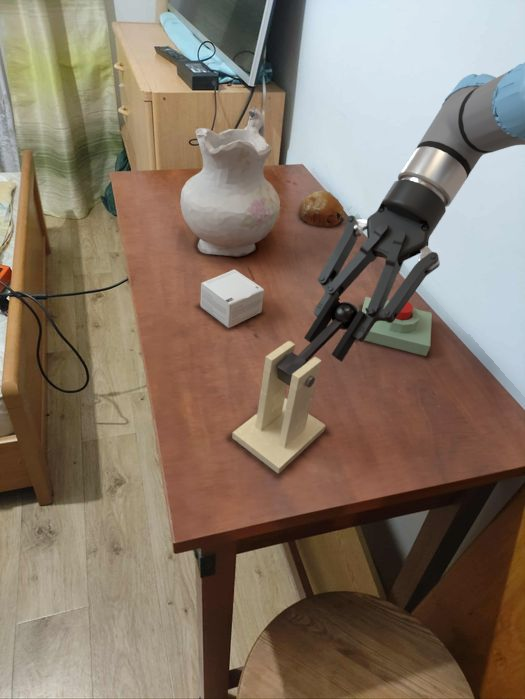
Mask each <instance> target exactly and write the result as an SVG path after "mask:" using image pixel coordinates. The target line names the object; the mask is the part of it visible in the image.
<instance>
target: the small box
mask: <svg viewBox="0 0 525 699" xmlns="http://www.w3.org/2000/svg"><path fill="white" fill-rule="evenodd" d="M264 295H265V289H264V288H263V287H261V286H260V285H259V284H258V283H256V282H254V281H253V280H252V279H250V278H248V277H247V276H245V275H244V274H242V273H241V272H239V271H238V270H236V269H232V270H229V271H227V272H224V273H223V274H220V275H217V276H215V277H213V278H210V279H208V280H205V281H203V282H201V283H200V308H201V309H203V310H204V311H205V312H207V313H208V314H209V315H211V316H212V317H213V318H214V319H216V320H217V321H219V322H220V323H221V324H222V325H224V326H225V327H226V328H228V329H230V328H232V327H234V326H236V325H239V324H240V323H242V322H245V321H247V320H248V319H251V318H252V317H254V316H257V315H258V314H261V313H262V311H263V304H264V303H263V302H264Z"/></svg>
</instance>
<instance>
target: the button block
mask: <svg viewBox="0 0 525 699" xmlns="http://www.w3.org/2000/svg"><path fill="white" fill-rule="evenodd" d="M371 298H372V297H368V296H365V297H364V301H363V303H362V304H363V305H362V307H361V311H362V312H364V313H365V314H366V310H365V308H368V306H369V303H370V301H371ZM390 300H391V299H389V300H388V299H387V301H386V303H385V305H384V308H385V307H386V305H387V304H388V302H389V301H390ZM384 308H383V309H384ZM432 315H433V313H432V312H429V311H425V310H421V309H418V308H416V307H415V306H413V311H412V314H411V316H410V318H409V319H408V320H398V319H395V320H394V321H393V322H392V323H388V322H386V321H377V322H375V324H374V325H373V327H372V328H371V330H370V331H369V333H368V335H367V336H366V338H365V339H364V340H363V341H365V342H369V343H374V344H377V345H380V346H384V347H385V346H386V347H388V348H393V349H397V350H400V351H404V352H408V353H412V354H416V355H420V356H424V357H427V356H428V354H429V352H430V349H431V340H432V321H433V320H432V319H433V318H432V317H433V316H432Z"/></svg>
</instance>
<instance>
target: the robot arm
mask: <svg viewBox="0 0 525 699" xmlns="http://www.w3.org/2000/svg"><path fill="white" fill-rule="evenodd" d="M514 146H525V61H524V62H522V63H519V64H517V65H516V66H515V67H513V68H511V69H510V70H508V71H507V72H505V73H503V74H501V75H499V76H497V77H496V76H494V75H491V74H488V73H481V74H476V73H472V74H468V75H466V76H464V77H462V78H461V80H460V81H459V82H458V83H457V84H456V85H455V87H454V88H453V89H452V91H451V92H450V93H449V94H448V95H447V96H446V97H445V99H444V101H443V103H442V105H441V107H440V109H439V110H438V112H437V114H436V115H435V117H434V119H433V120H432V122H431V123H430V125H429V127H428V128H427V130H426V131H425V133H424V135H423V136H422V138H421V139H420V141H419V143H418V144H417V147H416V148H415V149H414V151H413V153H411V156H410V157H409V159H408V160H407V162H406V163H405V165H404V166H403V167H402V169H401V171H400V172H399V174H398V176H397V180H396V181H394V182H393V184H392V185H391V186H390V188H389V190H388V191H387V193H386V195H385V196H384V198H383V199H382V201H381V203H380V204H379V207H378V209H377V210H376V211H375V212H373V214H371V215H370V216H368V217H367V218H356V217H355V216H354V215H349V216H347V217H346V219H345V223H344V224H345V225H344V230H343V233H342V235H341V236H340V238H339V239H338V241H337V243H336V245H335V246H334V249H333V251H332V252H331V254H330V255H329V257H328V260H327V261H326V263H325V265H324V266H323V268H322V270H321V272H320V273H319V275H318V277H317V281H318V283H319V284H320V285H321V287H322V288H323V289H324V293H323V295H322V297H321V298H320V300H319V301H318V303H317V305H316V307H315V308H314V310H313V315H314V316H315V320H314V321H313V323H312V325H311V326H310V327H309V329H308V330H307V332H306V334H305V336H304V337H303V339H304V340H306V341H307V342H309V344H310V343H311V342H312V341H313V340H314V339H315V338H316V337H317V336H318V335H319V334H320V333H321V332H322V331H323V330H324V329H325V328H326V327H327V326H328V325H329V324H330V323H331V322H332V317H331V315H332V311H333V309H334V307H335V306H336V305H338V304H339V303H341V302H340V301H341V298H340V297H341V296H342V295H343V294H344V292H345V291H347V290H348V288H349V287H350V286H351V285H352V283H354V281H355V280H357V278H358V277H359V276H360V275H361V274H362V273H363V271H365V269H366V268H367V267H368V266H369V265H370V264H372V263H373V262H375V260H376V259H377V258H383V259H385V264H384V267H383V269H382V272H381V274H380V276H379V279H378V281H377V283H376V286H375V288H374V291H373V294H372V295H371V297H370V298H371V301H370V303H369V306H368V308H365V310H366V314H365V313H364V312H362V310H359V309H358V310H359V312H358V313H357V315H356V316H355V318H354V319H353V321H352V323H351V324H350V326H349V327H348V329H347V330H345V332H344V333H343V335H342V337H341V338H340V340H339V341H338V343H337V345H336V346H335V348H334V349H333V351H332V353H331V354H330V355H331V356H332V357H333V358H335V359H336V360H338V361H339V362H341V363H342V362H343V361H344V359H345V358H346V356H347V354H348V352H349V351H350V350H351V348H352V346H353V345H354V343H355V342H356V341H358V342H360V343H362V342H363V341H365V340H364V339H365V338H366V336H367V335H368V333H369V331H370V330H371V328H372V327H373V325H374V324H375V322H377V321H386V322H388V323H392V322H393V321H394V320H395V319H396V317H397V316H398V314H399V313H400V312H401V310H402V309H403V308H404V306H405V305H406V303H407V302H409V301H410V300H411V298H412V297H413V295H414V294H415V292H416V291H417V290H418V288H419V287H420V286H421V283H423V281H424V280H425V278H426V277H428V276H429V275H430V274H431V273H432V272H434V271H435V270H436V269H438V268H439V267H440V265H441V262H440V256H439V254H438V253H437V252H435V251H432V250H431V248H430V247H429V240H430V237H431V235H432V234H433V233H434V231H435V229H436V228H437V226H438V224H439V223H440V222H441V220H442V218H443V217H444V215H445V214H446V211H447V210H446V209H447V207H450V205H451V204H452V203H453V201H454V199H455V198H456V196H457V194H458V193H459V192H460V190H461V188H462V187H463V185H464V184H465V182H466V180H467V179H468V178H469V177H470V176H469V175H471V172H472V171H473V169H475V166H476V165H477V164H478V162H479V160H481V158H482V157H483V155H486V154H490V153H494V152H498V151H500V150H504V149H507V148H510V147H514ZM364 231H366V236H367V239H366V240H365V241H364V242H363V243H362V244H361V246H360V249H359V250H358V252H357V253H356V254H355V255H354V256H353V257H352V258H351V259H350V260H349V261H348V263H347V264H346V265H345V263H346V261H347V259H348V258H349V256H350V255H351V252H352V250H353V249H354V247H355V244H356V243H357V240H358V238H359V237H361V236H362V235H363V233H364ZM419 254H420V255H419ZM417 255H419V256H418V257H417V263H416V264H415V265H414V266H413V267H412V269H411V270H410V271H409V273H408V274H407V276H405V278H404V280H403V281H402V283H401V284H400V286H399V287H398V288H397V290H396V291H395V292H394V294H393V295H392V297H391V298H390V299H389V296H390V293H391V291H392V289H393V286H394V283H395V281H396V278H397V276H398V274H399V273H400V272H401V269H402V267H403V264H404V262H405V261H407V260H410V259H411V258H413V257H415V256H417ZM344 265H345V266H344ZM388 299H389V300H390V301H389V302H388V304H387V305H386V307H385V308H384V305H385V303H386V301H388ZM383 308H384V309H383Z"/></svg>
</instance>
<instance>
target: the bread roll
mask: <svg viewBox="0 0 525 699" xmlns="http://www.w3.org/2000/svg"><path fill="white" fill-rule="evenodd" d="M298 214H299V217H300V219H301V220H302V221H304V222H305V223H307V224H308V225H311V226H316V227H320V228H332V227H335V226H337V225H338V224H340V222H343V221H344V220H345V218H344V217H343V215H345V214H346V211H345V208H344V206H343V205H342V203H341V202H340V201H339V199H337V198H336V197H335V196H334V194H332V193H331V192H330V191H327V190H316V191H313V192H312V193H309V194H308V195H306V196H305V197H304V198H303V199H302V201H301V203H300V204H299V207H298Z"/></svg>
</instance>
